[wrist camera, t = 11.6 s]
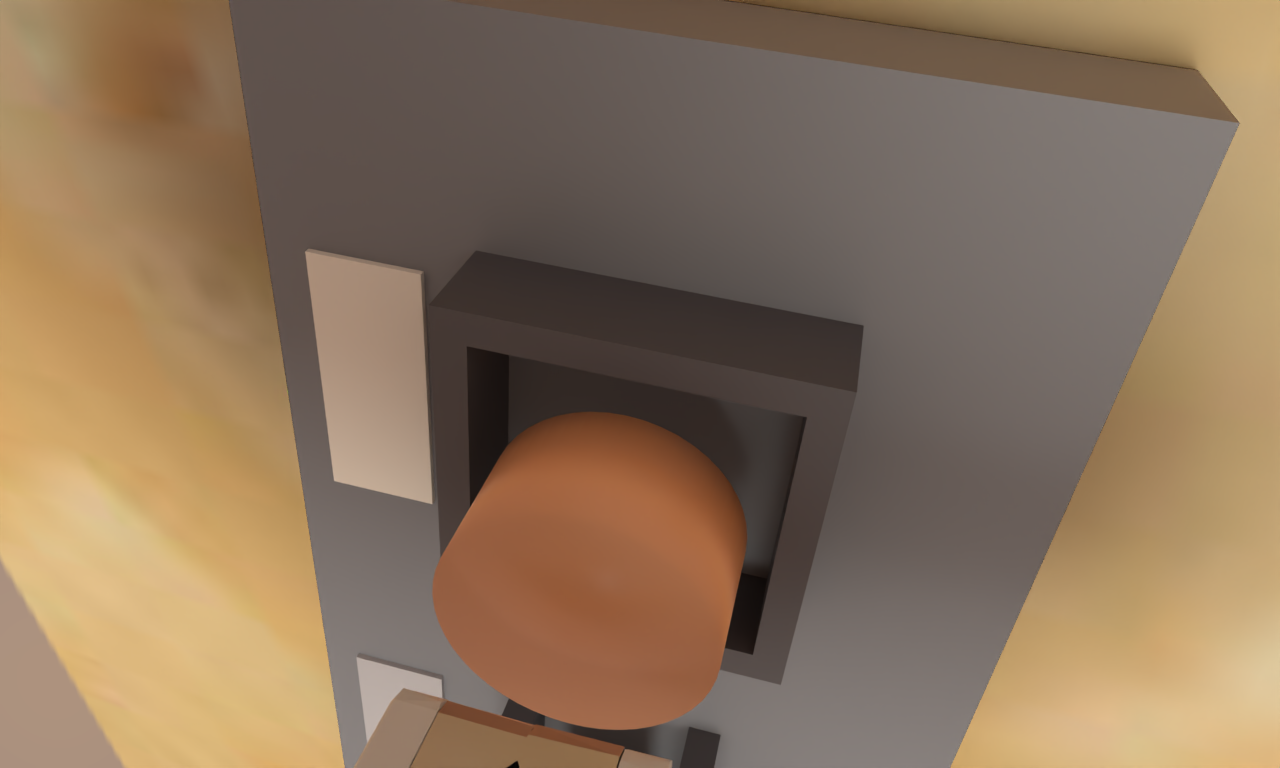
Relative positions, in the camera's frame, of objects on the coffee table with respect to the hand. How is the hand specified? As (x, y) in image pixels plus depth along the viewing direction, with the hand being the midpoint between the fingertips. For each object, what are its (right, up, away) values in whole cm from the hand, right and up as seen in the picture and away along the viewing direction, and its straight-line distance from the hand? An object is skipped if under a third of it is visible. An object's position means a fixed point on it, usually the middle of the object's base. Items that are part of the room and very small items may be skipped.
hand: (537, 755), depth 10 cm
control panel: (+1, -3, +11) cm, 12 cm away
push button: (+1, +2, +3) cm, 4 cm away
